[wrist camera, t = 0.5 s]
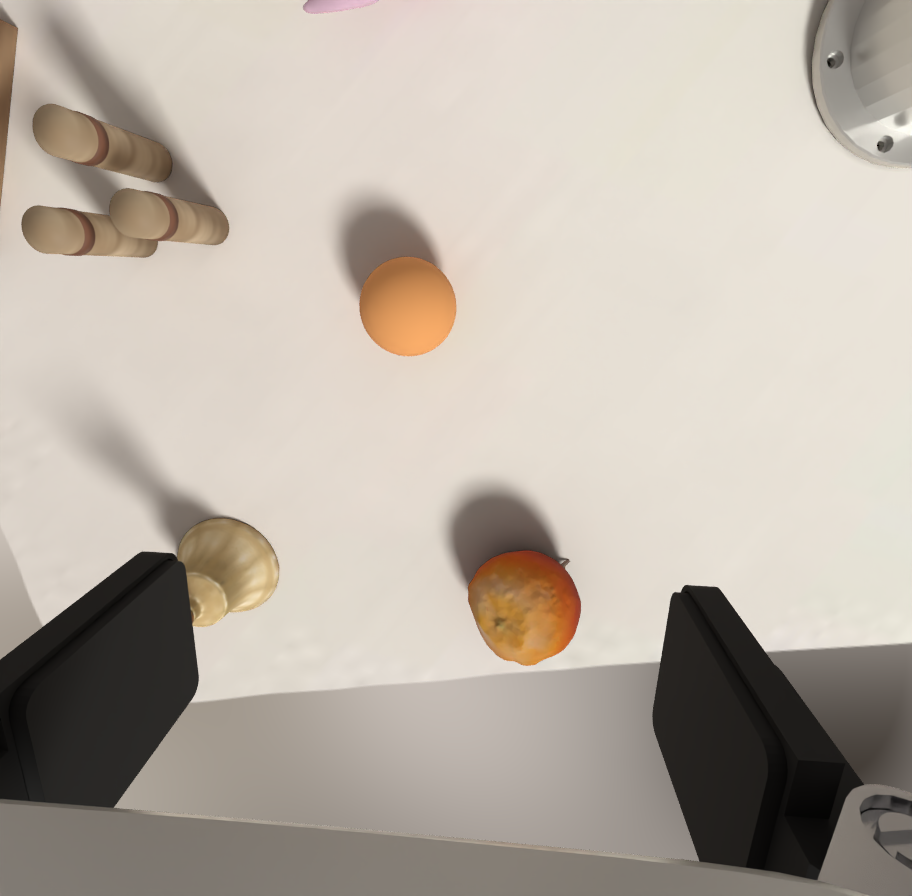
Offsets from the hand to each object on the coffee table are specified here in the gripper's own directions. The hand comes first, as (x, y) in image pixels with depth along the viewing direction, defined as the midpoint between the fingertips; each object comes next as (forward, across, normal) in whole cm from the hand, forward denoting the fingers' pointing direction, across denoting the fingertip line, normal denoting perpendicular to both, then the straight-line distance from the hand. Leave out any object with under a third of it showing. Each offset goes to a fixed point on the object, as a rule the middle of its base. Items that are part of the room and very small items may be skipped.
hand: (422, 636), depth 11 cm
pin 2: (+30, +23, -8) cm, 39 cm away
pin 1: (+30, +22, -13) cm, 39 cm away
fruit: (+30, -4, +16) cm, 34 cm away
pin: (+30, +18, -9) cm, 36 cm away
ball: (+27, +4, -5) cm, 28 cm away
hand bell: (+30, +19, +16) cm, 39 cm away
